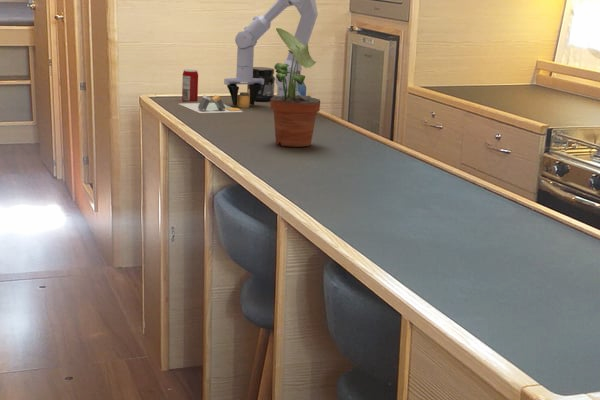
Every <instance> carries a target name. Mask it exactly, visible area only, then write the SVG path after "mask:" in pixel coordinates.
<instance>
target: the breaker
mask: <svg viewBox="0 0 600 400" xmlns="http://www.w3.org/2000/svg"><path fill="white" fill-rule="evenodd" d="M211 100H212V97H210V96H208V95H205V94H203V96H202V98H201V100H200V102H199V103H200V104H199V106H198V109H199V110H201V111H206V108H207V106H208V104H209V103H211V102H210V101H211Z"/></svg>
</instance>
